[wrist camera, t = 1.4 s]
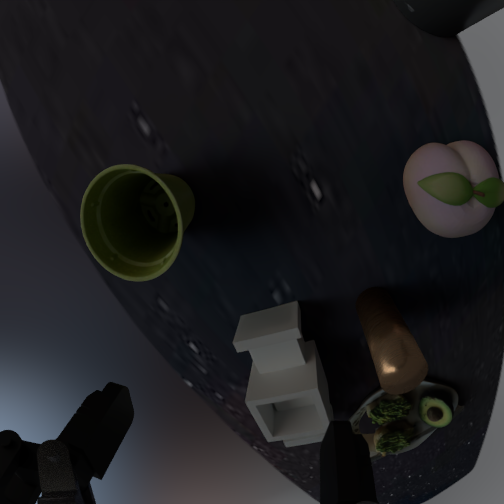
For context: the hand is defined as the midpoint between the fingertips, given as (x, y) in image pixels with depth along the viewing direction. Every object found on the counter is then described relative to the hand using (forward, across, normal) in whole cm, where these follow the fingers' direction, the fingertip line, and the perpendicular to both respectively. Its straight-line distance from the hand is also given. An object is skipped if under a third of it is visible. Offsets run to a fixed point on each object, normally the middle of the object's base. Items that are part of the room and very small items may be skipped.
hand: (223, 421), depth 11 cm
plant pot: (+22, +10, -3) cm, 24 cm away
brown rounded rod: (+22, -12, +5) cm, 25 cm away
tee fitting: (+22, -4, +15) cm, 27 cm away
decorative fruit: (+22, -16, -9) cm, 28 cm away
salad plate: (+22, -23, +23) cm, 39 cm away
